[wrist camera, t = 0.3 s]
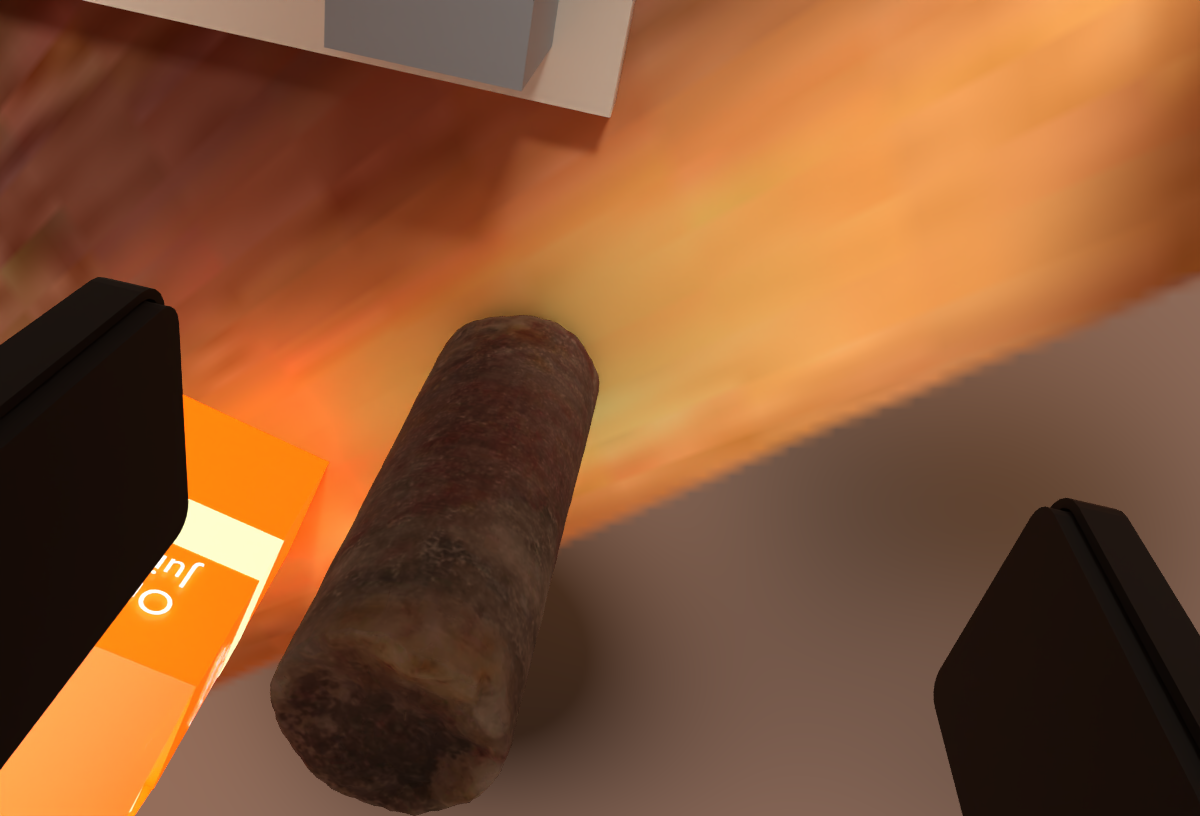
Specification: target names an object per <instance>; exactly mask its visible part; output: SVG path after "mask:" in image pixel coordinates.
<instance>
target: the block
mask: <svg viewBox="0 0 1200 816" xmlns="http://www.w3.org/2000/svg"><path fill="white" fill-rule="evenodd" d="M558 2H559V0H325V23H324V47H325V48H330V49H334V50H339V51H343V52H348V53H352V54H356V55H361V56H365V57H370V58H374V59H379V60H383V61H388V62H392V63H397V64H401V65H406V66H410V67H415V68H419V69H424V70H428V71H433V72H437V73H442V74H446V75H451V76H455V77H459V78H464V79H468V80H473V81H477V82H482V83H486V84H491V85H495V86H500V87H504V88H509V89H513V90H518V91H522V90H523V89H524V87H525V86H526V84H527V83H528V81H529V80H530V78H531V77H532V75H533V74H534V72H535V71H536V69H537V68H538V66H539V65H540V63H541V62H542V60H543V59H544V57H545V56H546V55H547V53H548V52H549V50H550V49H551V47H552V42H553V35H554V29H555V22H556V16H557V9H558Z"/></svg>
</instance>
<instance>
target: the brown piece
mask: <svg viewBox="0 0 1200 816" xmlns="http://www.w3.org/2000/svg"><path fill="white" fill-rule="evenodd" d="M598 392H599V376H598V373H597V371H596V369H595V367H594V365H593V362H592V360H591V358H590V357H589V355H588V354H587V352H586V350H585V348H584V346H583V345H582V344H581V342H580V341H579V340H578V338H577V337H576V336H575V335H574V334H572V333H571V332H569V331H567V330H565V329H564V328H563V327H562V326H560V325H559V324H558V323H555V322H553V321H551V320H543V319H540V318H538V317H534V316H527V315H519V316H510V317H506V316H499V317H489V318H485V319H482V320H476V321H473V322H470V323H468V324H466V325H464V326H463V327H461V328H460V329H458V330H457V331H456V332H455V334H454V335H453V336H452V337H451V338H450V339H449V341H448V342H447V343H446V345H445V346H444V348H443V350H442V351H441V353H440V355H439V356H438V358H437V360H436V362H435V365H434V367H433V369H432V370H431V372H430V374H429V376H428V378H427V380H426V381H425V383H424V385H423V387H422V389H421V391H420V393H419V395H418V396H417V398H416V400H415V402H414V404H413V406H412V408H411V411H410V413H409V415H408V417H407V419H406V421H405V423H404V425H403V427H402V429H401V431H400V433H399V435H398V437H397V438H396V440H395V442H394V444H393V446H392V448H391V450H390V452H389V454H388V456H387V457H386V459H385V461H384V463H383V466H382V468H381V470H380V471H379V473H378V475H377V477H376V479H375V481H374V483H373V485H372V487H371V489H370V490H369V492H368V494H367V496H366V498H365V500H364V502H363V504H362V506H361V508H360V510H359V512H358V514H357V517H356V519H355V521H354V523H353V525H352V527H351V529H350V531H349V532H348V534H347V536H346V538H345V540H344V542H343V543H342V545H341V547H340V549H339V551H338V552H337V554H336V556H335V558H334V560H333V562H332V563H331V565H330V567H329V569H328V571H327V573H326V575H325V577H324V580H323V582H322V584H321V586H320V588H319V590H318V592H317V594H316V596H315V598H314V600H313V602H312V604H311V605H310V607H309V609H308V611H307V613H306V615H305V616H304V618H303V620H302V622H301V624H300V626H299V628H298V629H297V631H296V632H295V634H294V636H293V638H292V640H291V642H290V644H289V646H288V648H287V650H286V652H285V654H284V655H283V657H282V659H281V661H280V663H279V665H278V667H277V670H276V672H275V674H274V676H273V679H272V681H271V685H270V686H271V689H270V691H271V693H270V695H271V703H272V707H273V709H274V711H275V714H276V720H277V722H278V724H279V727H280V729H281V731H282V733H283V734H284V735H285V737H286V738H287V739H288V741H289V742H290V744H291V746H292V747H293V749H294V750H295V752H296V753H297V754H298V755H299V756H300V757H301V759H302V760H303V762H304V763H305V765H306V766H307V768H308V769H309V770H310V771H311V772H312V773H313V774H314V775H315V776H316V777H317V778H318V779H320V780H322V781H323V782H325V783H326V784H327V785H328V786H329V787H330V788H331V789H333V790H335V791H338V792H340V793H341V794H344V795H346V796H349V797H354V798H356V799H359V800H360V801H362V802H365V803H368V804H371V805H374V806H381V807H384V808H386V809H388V810H389V811H397V812H402V813H407V814H410V815H413V816H416V815H419V814H422V813H426V812H429V811H439V810H442V809H446V808H449V807H451V806H455V805H457V804H463V803H469V802H471V801H472V800H473V799H475V798H477V797H478V796H480V795H481V794H482V793H483V792H484V791H485V790H486V789H487V788H488V787H489V786H490V785H491V784H492V783H493V781H494V780H495V779H496V778H497V777H498V775H499V773H500V772H501V770H502V767H503V765H504V762H505V760H506V757H507V755H508V753H509V750H510V748H511V746H512V741H513V736H514V731H515V726H516V722H517V717H518V712H519V707H520V704H521V700H522V696H523V693H524V690H525V687H526V682H527V678H528V673H529V668H530V664H531V660H532V656H533V651H534V647H535V644H536V639H537V636H538V632H539V628H540V625H541V622H542V618H543V613H544V608H545V604H546V599H547V594H548V590H549V586H550V582H551V578H552V574H553V570H554V567H555V564H556V560H557V554H558V550H559V546H560V542H561V538H562V534H563V530H564V526H565V522H566V517H567V513H568V509H569V506H570V503H571V500H572V495H573V491H574V487H575V483H576V480H577V476H578V472H579V468H580V464H581V461H582V457H583V454H584V450H585V446H586V442H587V438H588V434H589V430H590V425H591V421H592V416H593V413H594V409H595V405H596V400H597V396H598Z"/></svg>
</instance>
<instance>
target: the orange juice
mask: <svg viewBox="0 0 1200 816" xmlns="http://www.w3.org/2000/svg"><path fill="white" fill-rule="evenodd" d="M183 408H184V426H185V445H186V463H187V481H188V500H189V504H188V513H187V517H186V521H185V524H184V526H183V528H182V530H181V532H180V534H179V536H178V537H177V539H176V540H175V541H174V543H173V544H172V545H171V546H170V548H169V549H168V550H167V552H166V553H165V554H164V556H163V557H162V558H161V560H160V561H159V562H158V564H157V565H156V566H155V568H154V569H153V570H152V571H151V573H150V574H149V575H148V577H147V578H146V579H145V581H144V582H143V583H142V585H141V586H140V587H139V589H138V590H137V591H136V593H135V594H134V595H133V596H132V598H131V599H130V600H129V602H128V603H127V604H126V606H125V607H124V608H123V610H122V611H121V612H120V614H119V615H118V616H117V618H116V619H115V620H114V621H113V623H112V624H111V625H110V627H109V628H108V629H107V631H106V632H105V633H104V635H103V636H102V637H101V639H100V640H99V641H98V642H97V644H96V645H95V646H94V648H93V649H92V650H91V652H90V653H89V654H88V656H87V657H86V658H85V660H84V661H83V662H82V664H81V665H80V666H79V667H78V669H77V670H76V671H75V673H74V674H73V675H72V677H71V678H70V679H69V681H68V682H67V683H66V685H65V686H64V687H63V689H62V690H61V691H60V692H59V694H58V695H57V696H56V698H55V699H54V700H53V702H52V703H51V704H50V706H49V707H48V708H47V710H46V711H45V712H44V714H43V715H42V716H41V717H40V719H39V720H38V721H37V723H36V724H35V725H34V727H33V728H32V729H31V731H30V732H29V733H28V735H27V736H26V737H25V739H24V740H23V741H22V742H21V744H20V745H19V746H18V748H17V749H16V750H15V752H14V753H13V754H12V756H11V757H10V758H9V760H8V761H7V762H6V764H5V765H4V766H3V767H2V769H1V770H0V816H135V814H136V813H137V811H138V810H139V808H140V807H141V805H142V804H143V802H144V801H145V799H146V798H147V796H148V795H149V793H150V792H151V790H153V789H154V787H155V786H156V784H157V782H158V780H159V779H160V777H161V775H162V773H163V771H164V770H165V768H166V766H167V764H168V763H169V761H170V759H171V757H172V755H173V754H174V752H175V751H176V748H177V747H178V745H179V744H180V742H181V740H182V738H183V737H184V735H185V733H186V731H187V730H188V728H189V726H190V724H191V723H192V721H193V719H194V717H195V715H196V714H197V712H198V710H199V708H200V707H201V705H202V703H203V701H204V700H205V698H206V696H207V694H208V693H209V691H210V689H211V687H212V686H213V684H214V682H215V680H216V679H217V677H219V675H220V674H221V672H222V670H223V668H224V667H225V665H226V663H227V661H228V660H229V658H230V656H231V654H232V653H233V651H234V649H235V647H236V645H237V644H238V642H239V640H240V638H241V637H242V634H243V632H244V630H245V628H246V626H247V624H248V623H249V621H250V619H251V617H252V616H253V614H254V612H255V610H256V609H257V607H258V605H259V603H260V602H261V600H262V598H263V596H264V595H265V593H266V591H267V589H268V588H269V586H270V584H271V582H272V581H273V579H274V577H275V575H276V573H277V572H278V570H279V568H280V566H281V565H282V563H283V561H284V559H285V558H286V556H287V554H288V552H289V550H290V548H291V545H292V543H293V541H294V539H295V537H296V534H297V532H298V530H299V528H300V526H301V523H302V521H303V519H304V517H305V514H306V512H307V510H308V508H309V506H310V503H311V501H312V499H313V497H314V495H315V492H316V490H317V488H318V486H319V484H320V481H321V479H322V477H323V475H324V472H325V470H326V468H327V466H328V464H329V462H328V461H326V460H324V459H321V458H319V457H317V456H315V455H313V454H311V453H308V452H306V451H304V450H302V449H300V448H298V447H295V446H293V445H291V444H289V443H287V442H285V441H282V440H280V439H278V438H276V437H274V436H272V435H269V434H267V433H265V432H263V431H261V430H259V429H256V428H254V427H252V426H250V425H248V424H246V423H243V422H241V421H239V420H237V419H235V418H233V417H230V416H228V415H226V414H224V413H222V412H220V411H217V410H215V409H213V408H211V407H209V406H206V405H204V404H202V403H200V402H198V401H196V400H193V399H191V398H189V397H187V396H185V395H183Z"/></svg>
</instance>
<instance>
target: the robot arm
mask: <svg viewBox="0 0 1200 816" xmlns="http://www.w3.org/2000/svg"><path fill="white" fill-rule="evenodd" d="M188 504H189V500H188V481H187V463H186V445H185V426H184V408H183V390H182V371H181V353H180V335H179V321H178V315H177V313H176V311H175V309H173V308H172V307H170V306H165V305H164V300H163V298H162V296H161V294H160V293H159V292H158V291H157V290H156V289H152V288H148V287H143V286H139V285H135V284H130V283H126V282H122V281H117V280H113V279H108V278H103V277H97V278H95V279H93V280H91V281H89V282H88V283H86V284H85V285H84V286H82V287H81V288H79V289H78V290H77V291H75V292H74V293H72V294H71V295H70V296H68V297H67V298H65V299H64V300H63V301H61V302H60V303H58V304H57V305H56V306H54V307H53V308H51V309H50V310H49V311H47V312H46V313H44V314H43V315H42V316H40V317H39V318H38V319H36V320H35V321H33V322H32V323H31V324H29V325H28V326H26V327H25V328H24V329H22V330H21V331H19V332H18V333H17V334H15V335H14V336H12V337H11V338H10V339H8V340H7V341H5V342H4V343H3V344H1V345H0V770H1V769H2V767H3V766H4V765H5V764H6V762H7V761H8V760H9V758H10V757H11V756H12V754H13V753H14V752H15V750H16V749H17V748H18V746H19V745H20V744H21V742H22V741H23V740H24V739H25V737H26V736H27V735H28V733H29V732H30V731H31V729H32V728H33V727H34V725H35V724H36V723H37V721H38V720H39V719H40V717H41V716H42V715H43V714H44V712H45V711H46V710H47V708H48V707H49V706H50V704H51V703H52V702H53V700H54V699H55V698H56V696H57V695H58V694H59V692H60V691H61V690H62V689H63V687H64V686H65V685H66V683H67V682H68V681H69V679H70V678H71V677H72V675H73V674H74V673H75V671H76V670H77V669H78V667H79V666H80V665H81V664H82V662H83V661H84V660H85V658H86V657H87V656H88V654H89V653H90V652H91V650H92V649H93V648H94V646H95V645H96V644H97V642H98V641H99V640H100V639H101V637H102V636H103V635H104V633H105V632H106V631H107V629H108V628H109V627H110V625H111V624H112V623H113V621H114V620H115V619H116V618H117V616H118V615H119V614H120V612H121V611H122V610H123V608H124V607H125V606H126V604H127V603H128V602H129V600H130V599H131V598H132V596H133V595H134V594H135V593H136V591H137V590H138V589H139V587H140V586H141V585H142V583H143V582H144V581H145V579H146V578H147V577H148V575H149V574H150V573H151V571H152V570H153V569H154V568H155V566H156V565H157V564H158V562H159V561H160V560H161V558H162V557H163V556H164V554H165V553H166V552H167V550H168V549H169V548H170V546H171V545H172V544H173V543H174V541H175V540H176V539H177V537H178V536H179V534H180V532H181V530H182V528H183V526H184V524H185V521H186V517H187V513H188ZM934 704H935V709H936V713H937V717H938V721H939V725H940V729H941V732H942V736H943V740H944V744H945V748H946V752H947V756H948V760H949V764H950V768H951V772H952V775H953V779H954V783H955V787H956V791H957V795H958V798H959V802H960V806H961V810H962V814H963V816H1200V635H1199V634H1198V632H1197V630H1196V629H1195V627H1194V625H1193V624H1192V622H1191V621H1190V619H1189V617H1188V616H1187V614H1186V612H1185V611H1184V609H1183V608H1182V606H1181V604H1180V603H1179V601H1178V599H1177V598H1176V596H1175V594H1174V593H1173V591H1172V590H1171V588H1170V586H1169V585H1168V583H1167V581H1166V580H1165V578H1164V576H1163V575H1162V573H1161V571H1160V570H1159V568H1158V567H1157V565H1156V563H1155V562H1154V560H1153V558H1152V557H1151V555H1150V554H1149V552H1148V550H1147V549H1146V547H1145V545H1144V544H1143V542H1142V541H1141V539H1140V537H1139V536H1138V534H1137V532H1136V531H1135V529H1134V527H1133V526H1132V524H1131V522H1130V521H1129V519H1128V518H1127V517H1126V515H1125V514H1124V513H1123V512H1122V511H1119V510H1117V509H1113V508H1109V507H1105V506H1100V505H1096V504H1091V503H1087V502H1082V501H1078V500H1074V499H1069V498H1064V499H1060V500H1058V501H1057V502H1055V503H1054V504H1053V505H1052V506H1051V507H1050V508H1049V507H1041V508H1039V509H1038V510H1037V511H1035V512H1034V514H1033V515H1032V516H1031V518H1030V519H1029V521H1028V523H1027V524H1026V526H1025V528H1024V529H1023V531H1022V533H1021V535H1020V536H1019V538H1018V540H1017V541H1016V543H1015V545H1014V546H1013V548H1012V550H1011V552H1010V553H1009V555H1008V556H1007V558H1006V560H1005V561H1004V563H1003V565H1002V566H1001V568H1000V570H999V571H998V573H997V575H996V577H995V578H994V580H993V581H992V583H991V585H990V586H989V588H988V590H987V591H986V593H985V595H984V597H983V598H982V600H981V601H980V603H979V605H978V607H977V608H976V610H975V612H974V613H973V615H972V617H971V618H970V620H969V622H968V623H967V625H966V627H965V628H964V630H963V632H962V633H961V635H960V637H959V638H958V640H957V642H956V643H955V645H954V647H953V648H952V650H951V652H950V653H949V655H948V657H947V658H946V660H945V662H944V664H943V665H942V667H941V668H940V670H939V672H938V675H937V678H936V681H935V686H934Z"/></svg>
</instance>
